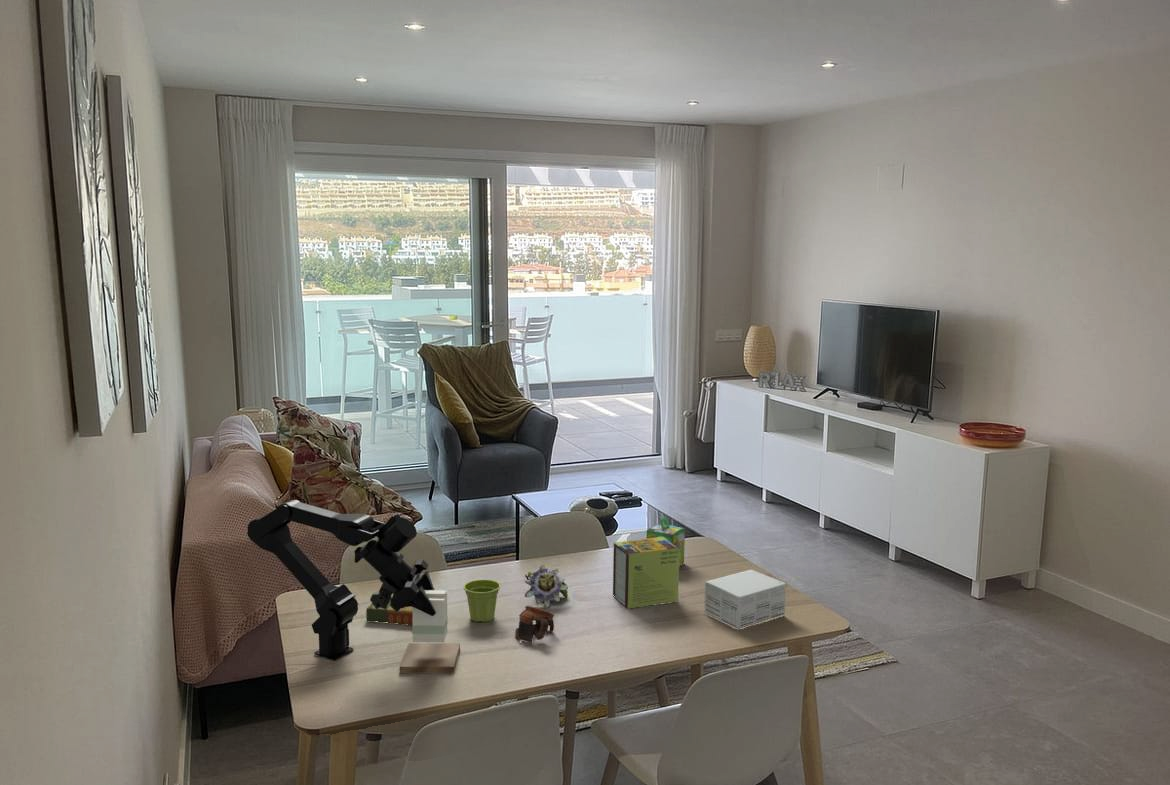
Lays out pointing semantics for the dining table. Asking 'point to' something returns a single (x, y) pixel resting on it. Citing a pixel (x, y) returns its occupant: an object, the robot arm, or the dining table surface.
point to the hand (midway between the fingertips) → (436, 609)
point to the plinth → (430, 658)
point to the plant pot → (482, 599)
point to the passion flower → (546, 586)
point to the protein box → (645, 572)
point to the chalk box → (669, 535)
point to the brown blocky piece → (530, 629)
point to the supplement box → (745, 598)
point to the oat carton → (431, 619)
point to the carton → (390, 615)
